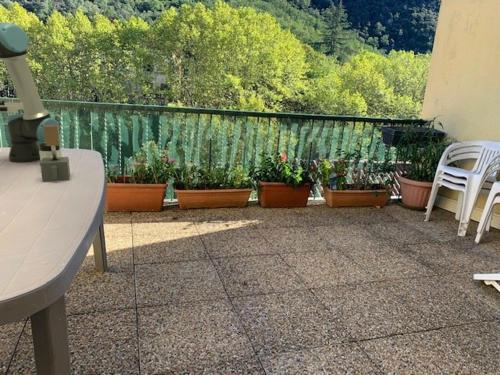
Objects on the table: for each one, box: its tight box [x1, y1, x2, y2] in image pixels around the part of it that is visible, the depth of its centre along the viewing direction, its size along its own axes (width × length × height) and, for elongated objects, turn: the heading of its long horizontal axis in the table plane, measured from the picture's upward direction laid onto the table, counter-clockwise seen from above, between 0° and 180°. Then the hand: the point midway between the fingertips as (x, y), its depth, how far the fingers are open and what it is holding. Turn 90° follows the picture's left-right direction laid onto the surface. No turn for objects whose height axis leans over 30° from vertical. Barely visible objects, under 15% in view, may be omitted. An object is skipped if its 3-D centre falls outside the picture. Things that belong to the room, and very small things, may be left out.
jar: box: [39, 142, 63, 162], centre depth 178 cm, size 9×8×12 cm
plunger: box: [44, 125, 61, 160], centre depth 162 cm, size 4×5×14 cm
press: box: [39, 156, 71, 183], centre depth 164 cm, size 13×10×8 cm
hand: (20, 107), depth 154 cm, fingers open, 13 cm apart
